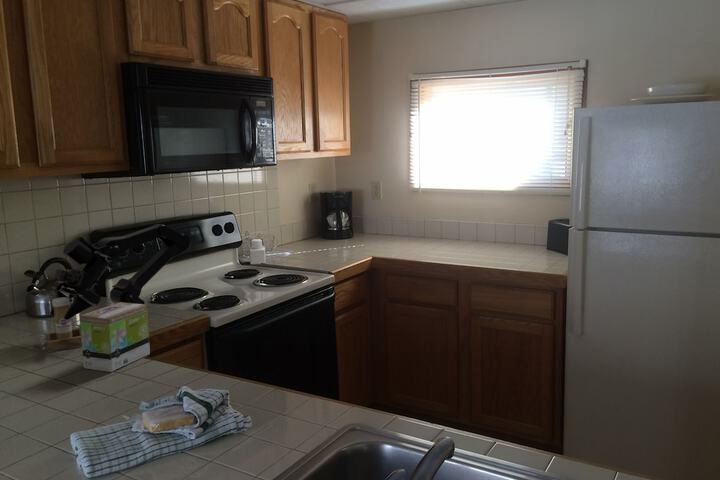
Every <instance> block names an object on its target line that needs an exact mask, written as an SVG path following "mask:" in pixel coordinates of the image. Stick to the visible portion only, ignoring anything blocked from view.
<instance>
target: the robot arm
mask: <svg viewBox="0 0 720 480" xmlns="http://www.w3.org/2000/svg"><path fill="white" fill-rule="evenodd" d="M157 239H158V240H159V241H161V242H162V244H161V247H160V249H159V250H158V251H156V253H155V254H154V255H153V256H152V257H151V258H150V259H149V260H148V261H147V262H146V263H145V264H144V265H143V266H142V267H140V269H138V270H137V271H136V272H135V274H134V275H132V276H131V277H130V278H128V279H126V278H120V279H119V280H118V281H117V282H116V283H115V284H113V285H112V286H111V290H110V291H109V300H110V301H111V302H112V303H114V304H116V303H119V302H122V303H133V304H144V305H145V303H146V302H145V300H143V299H141V297H140V296H141V293H142V289H143V287H145V286H146V284H147V283H149V281H151V280H152V278H153V277H155V275H156V274H158V273H159V272H160V270H162V269H163V267H164V266H165V265H167V264H168V262H170V261H171V259H173V258H175V257H177V256H180V255H181V254H183V253H185V252H186V251H188V250H189V249H190V247H191V239H190V236H188V235H187V234H186V233H185V234H184V233H180V232H179V231H176V230H174V229H172V228H169V227H168V226H166V225H165V224H159V223H158V224H153V225H152V226H149V227H146V228H142V229H140V230H138V231H133V232H132V233H128V234H125V235H123V236H122V235H121V236H111V237H104V238H101V239H99V240H97V241H98V242H96V243H94V244H90V243H89V242H88V241H86V240H85V238H84V237H82V236H79V235H78V236H77V237H76V238H75V239H72V240H71V241H70V242H69V243H67V244H66V245H65V247H64V248H63V251H62V252H63V254H64V255H65V256H66V257H68V258H69V259H70V260H72V261H73V262H75V263H76V264H77V265H83V266H82V268H81V269H73V268H70V269H68V270H64V269H59V268H57V269H56V270H55V273H54V276H53V280H55V282H54V283H53V284H52V286H51V288H52V289H53V292H54V295H55V298H54V299H56V298H62V297H67V298H69V300H70V306H69V307H70V308H69V309H68V311H67V313H66V315H65V317H64V319H66V320H68V319H70V318H71V319H72V318H73V317H75V316H77V315H78V314H80V313H81V312H83V311H86V310H87V309H89V308H92V307H93V306H98V304H99V303H100V302H101V296H100V295H99V294H98V293H97V292H95V291H93V290H92V289H93V288H94V286H95V285H96V286H98V285H99V283H100V281H99V279H100V278H101V276H103V273H104V272H105V271H106V269H107V270H112V271H113V270H115V267H114V261H113V260H108V259H106V258H112V259H116V258H119V257H120V256H122V255H124V254H126V253H127V252H128V251H129V250H130V249H131V248H135V247H136V246H139V245H143V244H145V243H147V242H151V241H153V240H157ZM97 254H98V255H97ZM71 302H72V303H71ZM49 315H51V316H54V308H53V305H52V307H51V309H50V313H49Z"/></svg>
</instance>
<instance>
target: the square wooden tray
mask: <svg viewBox="0 0 720 480" xmlns="http://www.w3.org/2000/svg"><path fill="white" fill-rule="evenodd" d="M72 336H73V337H71V338H65V339H59V340H57V335H56V331H53V332H46V333H45V342H46V347H47V351H48V353H51V352H57V351H63V350H68V349H73V348H74V349H75V348H82V339H81V327H79V328H78V327H77V328H72Z"/></svg>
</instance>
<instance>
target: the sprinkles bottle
mask: <svg viewBox="0 0 720 480" xmlns="http://www.w3.org/2000/svg"><path fill="white" fill-rule="evenodd" d="M51 303H52V306H53V308H54V315H53V317H54V327H55V332H56V335H57V340H59V339H65V338H71V337H73V336H72V329H73V326H72V317H71V318H70V319H68V320H66V319H64V317H65V315H66V313H67V311H68V309H69V308H70V306H71V302H70V300H69V298H67V297H62V298H56V299H55V298H54V299H52V302H51Z"/></svg>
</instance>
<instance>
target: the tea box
mask: <svg viewBox="0 0 720 480" xmlns="http://www.w3.org/2000/svg"><path fill="white" fill-rule="evenodd" d="M148 316H149V315H148V304H145V303H144V304H133V303H122V302H119V303H116V304H115V303H114V304H111V305H108V306H105V307H101V308H98V309H95V310H93V311H90V312H86V313H84V314H80V315H79V320H80V322H79V323H80V328H81V339H82V346H81V351H82V362H83V365H82V366H83V368H84V369H87V370H93V371H101V372H109V373H113V372H115V371H116V370H117V369H120V368H122V367H125V366H126V365H129V364H131V363H133V362H135V361H137V360H140V359H142V358H144V357H147V356H149V355H150V354H151V350H150V349H151V348H150V346H151V345H150V344H151V343H150V332H149V320H148Z"/></svg>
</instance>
